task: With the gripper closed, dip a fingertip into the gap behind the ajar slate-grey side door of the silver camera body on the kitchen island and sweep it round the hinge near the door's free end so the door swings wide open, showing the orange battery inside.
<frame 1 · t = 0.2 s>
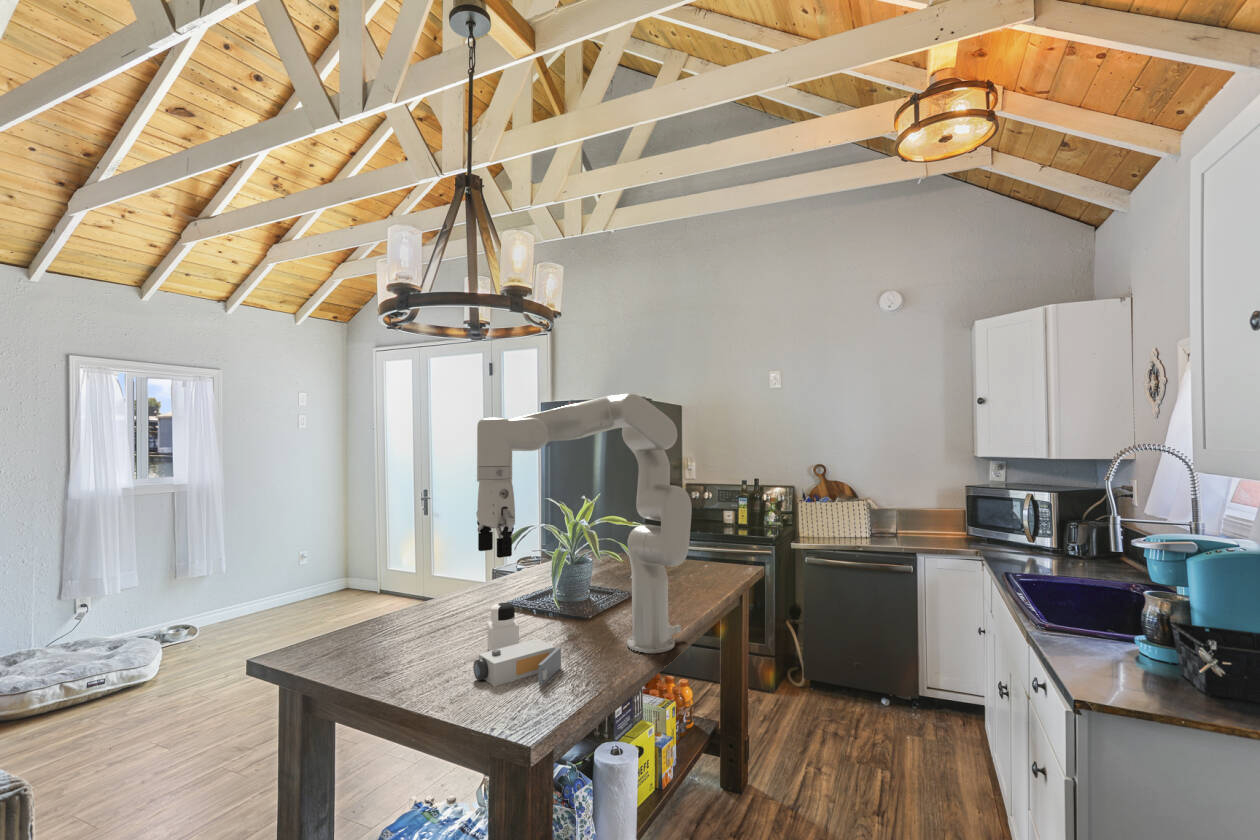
hand: (494, 553, 128), 30 cm above the worktop, tool pointing down, fingers open, 9 cm apart
camera body: (517, 671, 139), on the worktop
side door: (551, 665, 136), point 3 cm above the worktop, hinge at 35.0°
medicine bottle: (503, 651, 153), on the worktop
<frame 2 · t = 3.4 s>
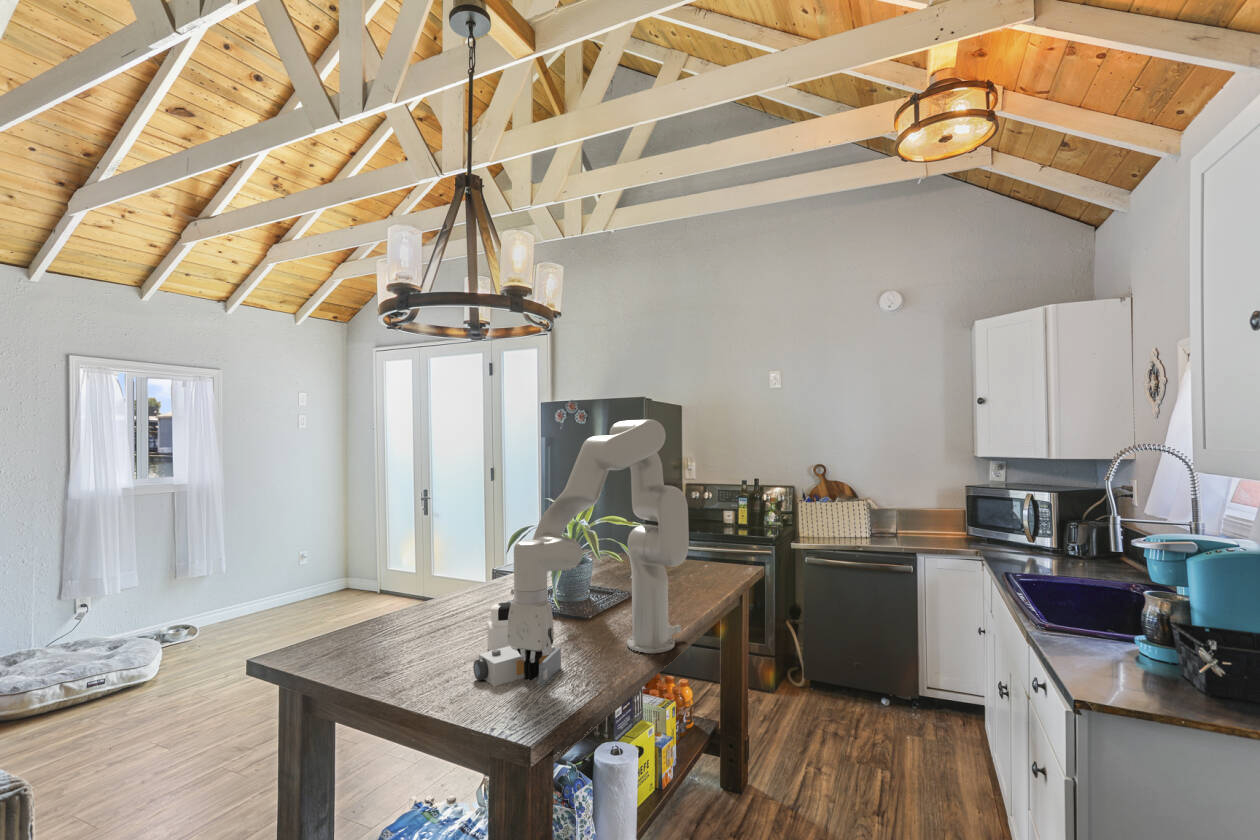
hand: (531, 677, 133), 1 cm above the worktop, tool pointing down, fingers closed
side door: (552, 665, 136), point 3 cm above the worktop, hinge at 35.7°, touching gripper
everything else where it was.
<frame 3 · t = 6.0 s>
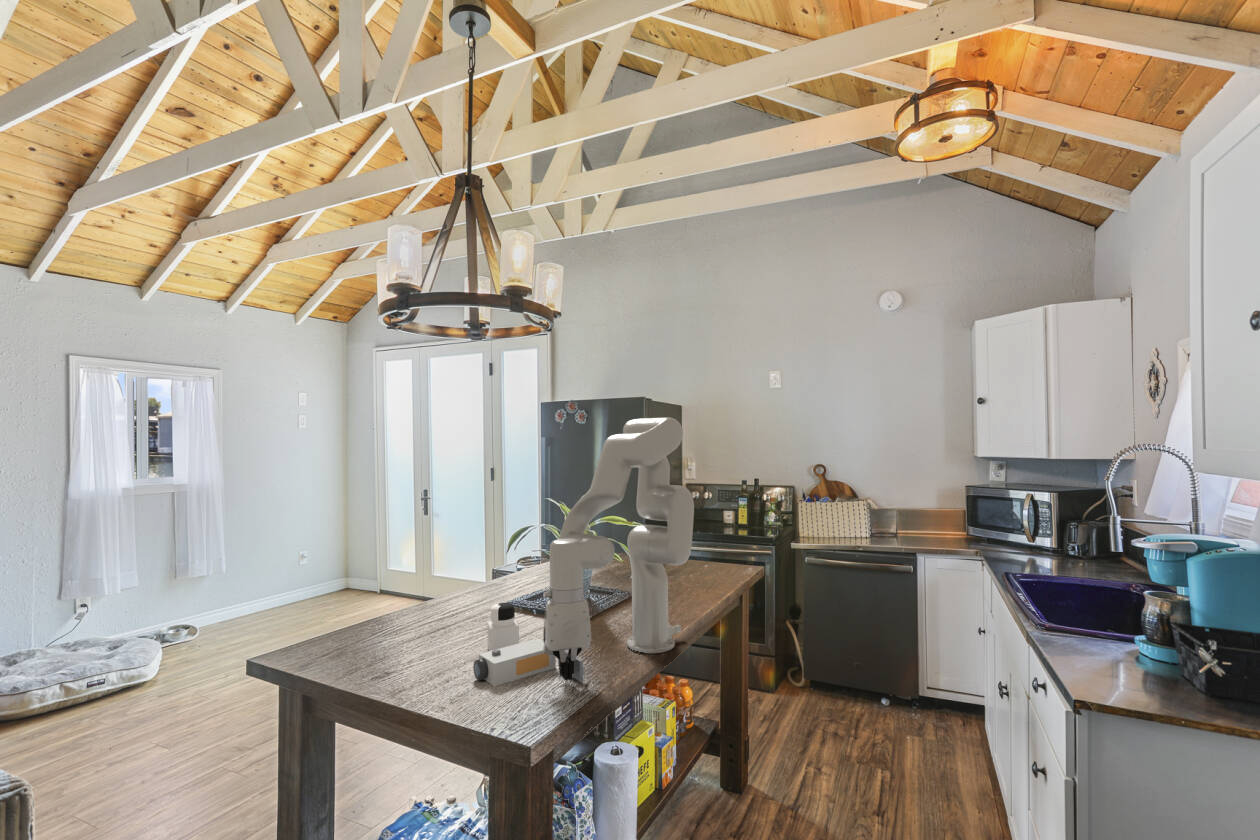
hand: (566, 677, 132), 1 cm above the worktop, tool pointing down, fingers closed
side door: (570, 663, 137), point 3 cm above the worktop, hinge at 83.0°, touching gripper
everything else where it was.
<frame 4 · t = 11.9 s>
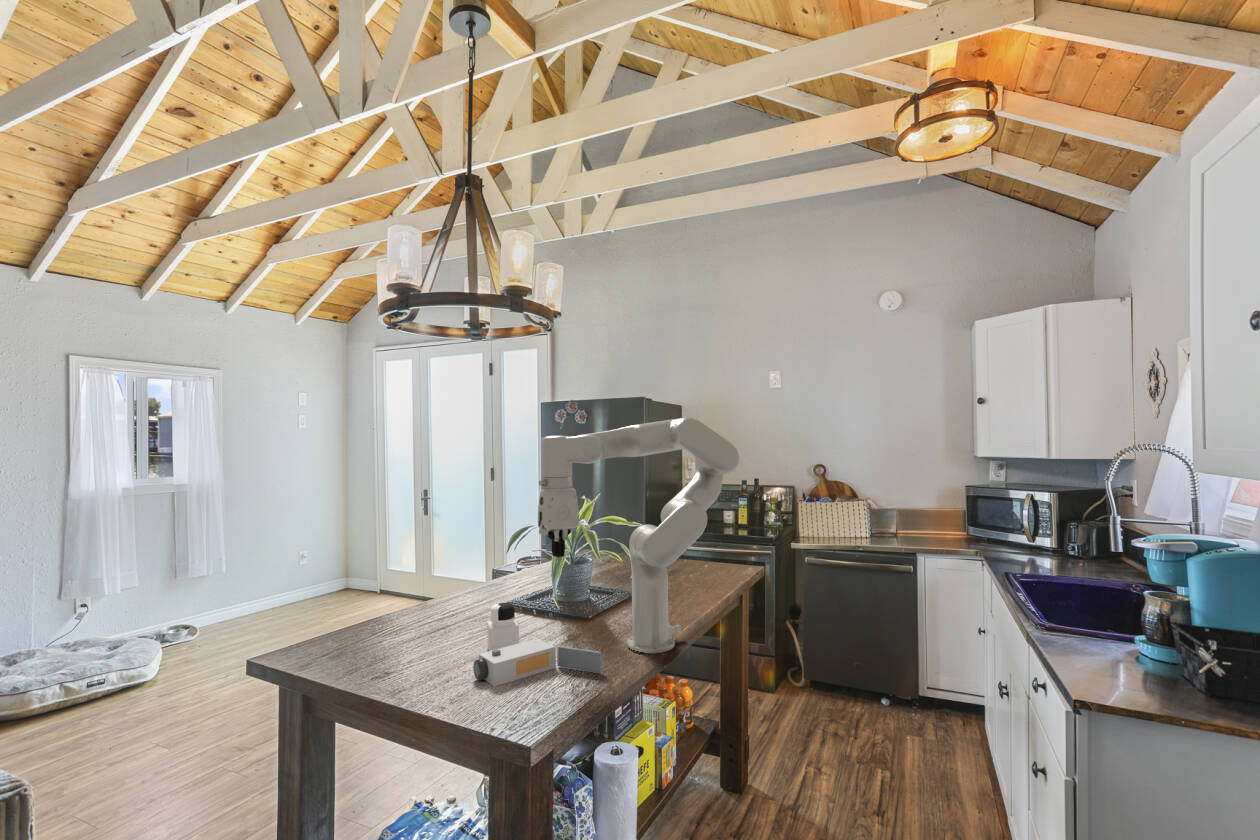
hand: (558, 556, 150), 25 cm above the worktop, tool pointing down, fingers closed
side door: (579, 658, 140), point 3 cm above the worktop, hinge at 116.7°
everything else where it was.
at the end: side door at +117° (first picture: +35°); side door touching nothing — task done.
